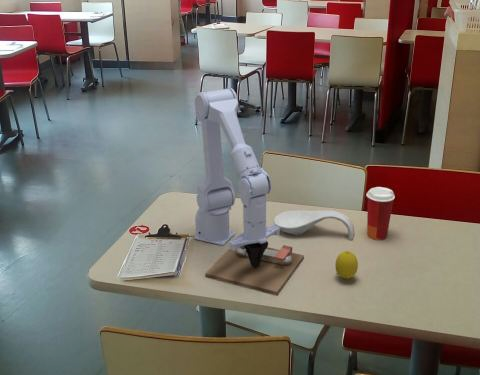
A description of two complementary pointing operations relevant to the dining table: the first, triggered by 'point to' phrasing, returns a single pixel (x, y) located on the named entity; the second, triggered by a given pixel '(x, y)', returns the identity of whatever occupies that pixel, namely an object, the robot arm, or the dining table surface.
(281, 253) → the keeper
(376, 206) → the paper cup
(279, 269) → the board
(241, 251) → the link
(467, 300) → the dining table surface
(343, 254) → the lemon
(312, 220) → the spoon rest
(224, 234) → the robot arm
